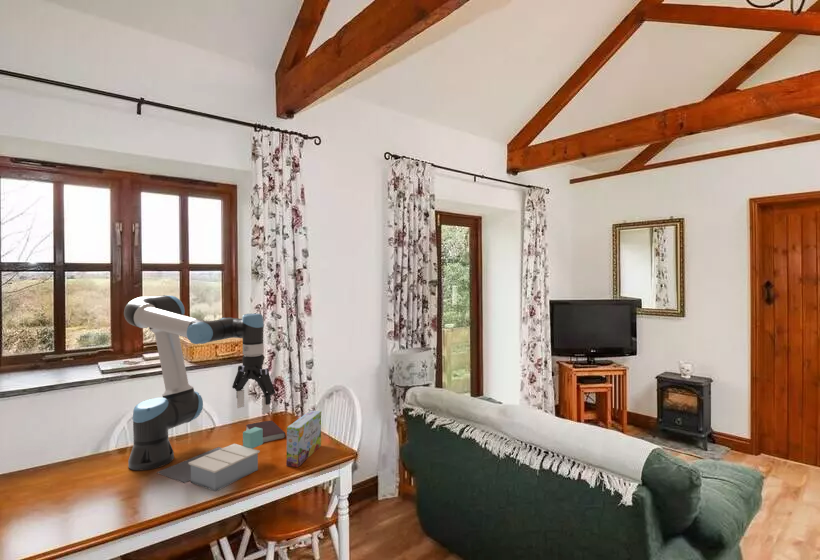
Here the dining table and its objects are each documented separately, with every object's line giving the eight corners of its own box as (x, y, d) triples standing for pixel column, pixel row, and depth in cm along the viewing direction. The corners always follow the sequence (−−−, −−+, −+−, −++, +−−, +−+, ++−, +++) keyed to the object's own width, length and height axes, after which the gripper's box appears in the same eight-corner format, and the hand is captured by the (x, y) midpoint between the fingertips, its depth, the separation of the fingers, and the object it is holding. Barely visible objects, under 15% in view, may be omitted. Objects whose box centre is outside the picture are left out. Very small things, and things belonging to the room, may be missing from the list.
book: (272, 426, 209) (272, 419, 209) (285, 438, 193) (285, 431, 193) (245, 431, 202) (245, 424, 202) (256, 445, 186) (256, 437, 186)
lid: (188, 464, 152) (188, 447, 152) (246, 439, 174) (246, 424, 174) (214, 473, 145) (214, 455, 145) (272, 446, 167) (271, 430, 167)
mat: (156, 473, 160) (156, 472, 160) (218, 447, 182) (218, 447, 182) (184, 483, 152) (184, 482, 152) (245, 455, 175) (245, 454, 175)
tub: (190, 482, 152) (190, 463, 152) (234, 462, 168) (233, 445, 168) (215, 491, 146) (215, 472, 146) (257, 469, 162) (257, 452, 162)
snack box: (299, 468, 164) (299, 428, 163) (285, 466, 165) (285, 427, 164) (322, 445, 184) (321, 410, 184) (309, 444, 185) (309, 409, 185)
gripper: (222, 353, 169) (222, 407, 169) (269, 359, 157) (269, 418, 158) (238, 349, 175) (238, 402, 176) (284, 356, 164) (284, 412, 164)
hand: (253, 410), depth 167 cm, fingers open, 13 cm apart
